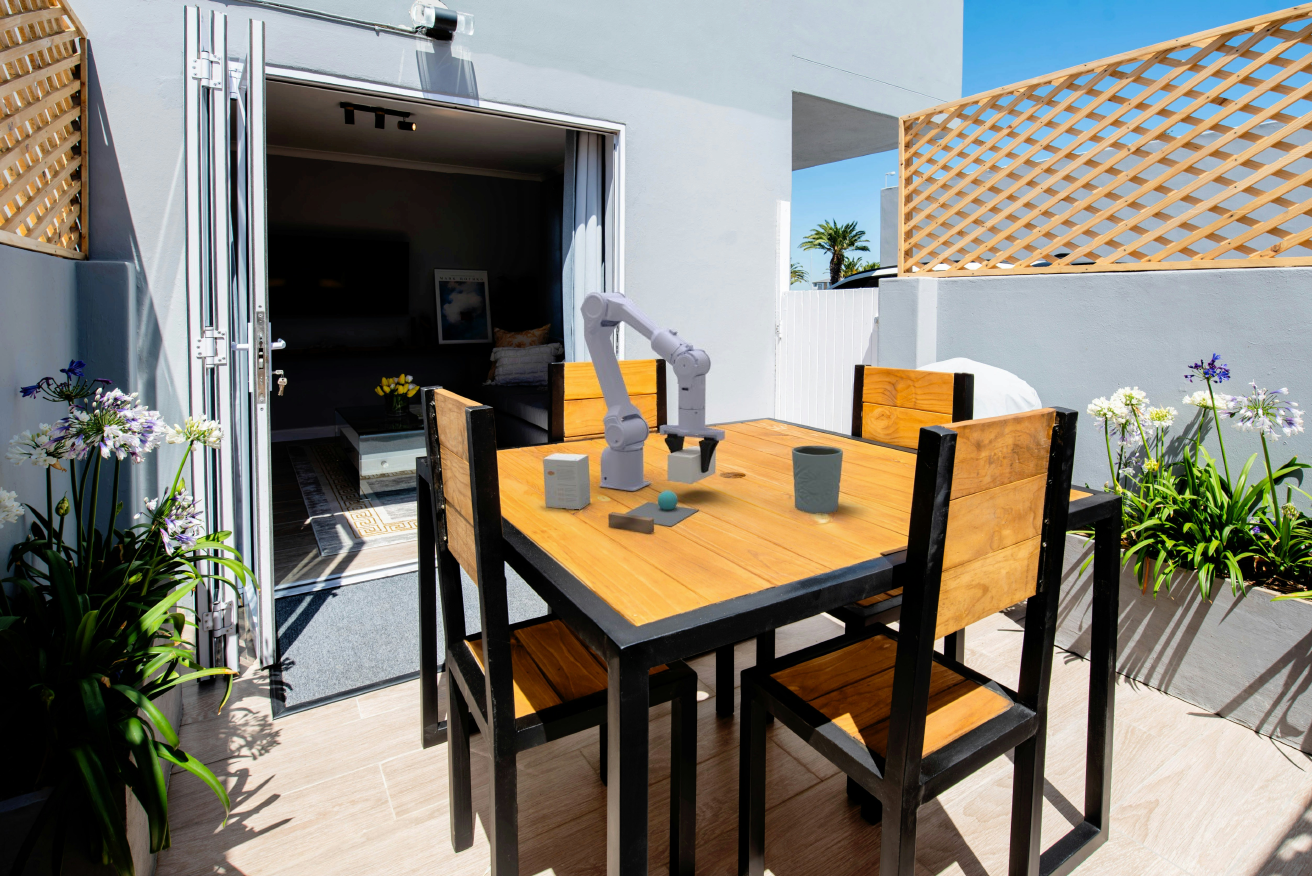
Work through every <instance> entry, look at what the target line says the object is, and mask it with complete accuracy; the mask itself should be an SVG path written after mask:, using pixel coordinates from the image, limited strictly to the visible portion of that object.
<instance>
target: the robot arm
mask: <svg viewBox="0 0 1312 876" xmlns="http://www.w3.org/2000/svg"><path fill="white" fill-rule="evenodd" d="M579 310H580V313H581V315H582V319H583V336H584V340H585V343H586V346H587V347H586V348H587V350H588V353H589V355H590V358H591V361H592V364H593V365H592V366H593V368H594V371H595V374H596V377H597V381H598V384H599V386H600V390H601V393H602V397H603V399H604V402H605V405H606V408H607V412H606V413H605V415H604V417H603V419H602V422H603V426H604V439H605V442H606V444H607V445H608V446H606V447H605V448H603V450H602V452H601V454H600V483H599V487H602V488H606V489H607V488H609V489H616V490H621V491H630V492H635V491H638V490H640V489H642V488H644V487H646V486H648V485H651V484H652V481H649V480H645V478H644V477H645V474H644V473H645V472H644V471H645V470H644V468H645V467H644V466H645V465H644V446H645V442H646V440H647V439H648V438H649V435H650V427H649V424H648V421H647V420H646V419H645V418H644V416H643V415H642V412H641V410H640V409H639V408H638V407H637V406H636V405H635V404H633V403H632V401H631V398H630V396H629V392H628V389H627V387H626V386H627V385H626V384H625V380H624V377H623V373H622V371H621V368H620V365H619V361H618V358H617V355H616V353H615V349H614V346H613V343H612V340H611V336H612V334H613V333H614V331H615V329H617V328H618V326H619V325H620V324H621V323H622V322H623V323H626V324H627V325H628V326H630V327H631V328H632V329H634V330H635V331H636V332H638V333H639V334H641V335H642V336H643V337H645V338H646V339H648V340H649V341H650V346H651V349H652V351H653V352H655V353H656V354H657V355H658V356H660V357H661V358H662V359H663V360H664V361H666V363H668V364H669V365H671V366H672V370H673V372H674V374H675V377H676V378H677V379H676V380H677V385H678V386H677V387H678V388H677V389H678V396H677V397H678V398H677V399H678V401H677V402H678V406H677V407H678V408H677V409H678V410H677V411H678V414H677V417H678V420H677V421H678V422H677V423H678V424H675V425H673V424H663V425H659V435H660V436H665V435H666V437H665V438H664V443H665V444H666V446H667V447H668V450H669V452H670V453H669V454H671V453H674V452H677V451H680V450H683V449H684V443H685V438H686V437H687V438H695V439H697V438H698V439H701V440H698V445H699V446H698V447H700V452H701V472H702V473H706V472H708V470H709V465H710V461H711V458H712V455H713V453H714V450H715V448H716V449H717V447H718V445H719V442H721V441H724V440H725V438H726V431H725V429H717V428H712V427H706V394H707V393H706V385H707V383H706V381H707V380H706V379H707V378H706V375H707V374H708V373H709V372H710V370H711V366H712V365H711V364H712V363H711V362H712V361H711V358H710V356H709V354H708V353H706V351H705V350H703V349H701V348H698V349H697V348H696V349H695V348H694V345H693V344H692V343H690V342H689V343H688V342H686V341H685V340H684V339H682V338H683V337H680V335H678V330H676V329H674V328H669V327H664V328H661V327H659V325H657V324H656V323H655V322H654V321H653V320H652V319H651V318H650V317H649V316H647V315H646V313H644V311H642V310H641V309H640V308H639V307H638V306H637V305H636V304H635V303H634V302H633V299H631V298H629V297H627V296H626V295H625V294H624V293H622V292H620V291H615V292H598V291H591V292H590V293H588V294H587V295H586V296H585V298H584V299H583V302H582V305H581V306H580V309H579Z"/></svg>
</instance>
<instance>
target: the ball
mask: <svg viewBox="0 0 1312 876" xmlns="http://www.w3.org/2000/svg"><path fill="white" fill-rule="evenodd" d="M657 503H658V504H659V506H660V507H661V508H662V509H663V510H672V509H674V508H675V507H676V506H677V505H678V497H677V495H676V494H675V493H674V492H673V491H671V490H664V491H662V492H660V493H659V495H658V496H657Z"/></svg>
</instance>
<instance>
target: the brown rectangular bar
mask: <svg viewBox="0 0 1312 876" xmlns="http://www.w3.org/2000/svg"><path fill="white" fill-rule="evenodd" d="M607 516H608V527H609V528H614V529H620V530H625V531H631V532H637V533H644V534H649V535H650V534H653V533H654V532H655V524H654V518H648V517H642V516H635V515H629V514H625V513H623V512H616V511H612V512H609V513H608V515H607Z"/></svg>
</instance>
